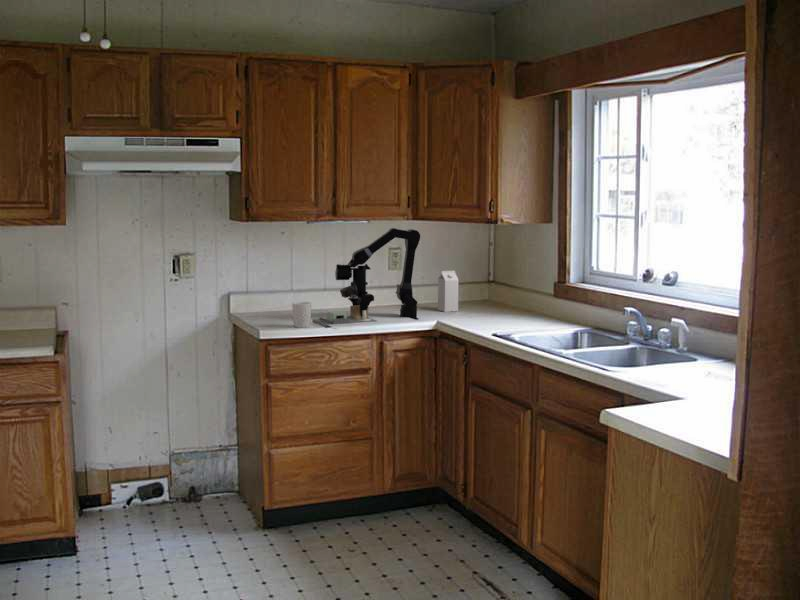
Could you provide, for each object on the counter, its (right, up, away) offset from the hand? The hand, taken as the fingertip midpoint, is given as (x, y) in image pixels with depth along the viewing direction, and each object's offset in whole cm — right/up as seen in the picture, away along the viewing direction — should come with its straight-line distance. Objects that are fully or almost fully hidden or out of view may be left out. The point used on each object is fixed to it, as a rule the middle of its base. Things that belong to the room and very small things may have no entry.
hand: (359, 315), depth 389 cm
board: (-6, -3, -7) cm, 10 cm away
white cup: (-23, -5, -17) cm, 29 cm away
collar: (0, -1, 0) cm, 1 cm away
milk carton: (+40, +1, +30) cm, 50 cm away
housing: (-9, -2, -12) cm, 15 cm away
